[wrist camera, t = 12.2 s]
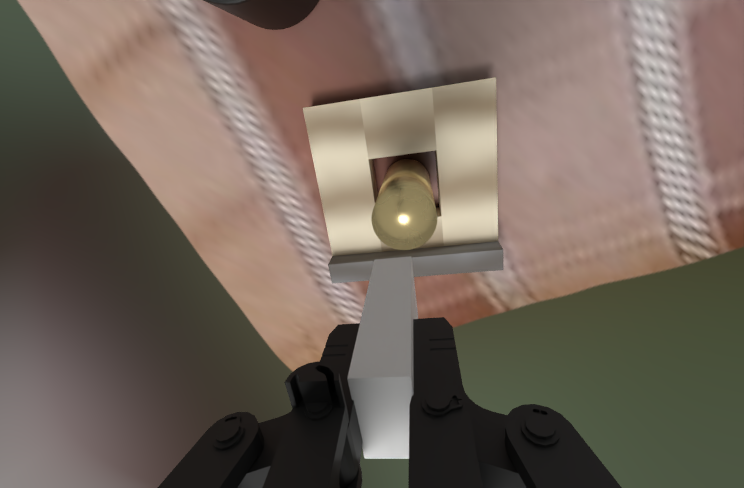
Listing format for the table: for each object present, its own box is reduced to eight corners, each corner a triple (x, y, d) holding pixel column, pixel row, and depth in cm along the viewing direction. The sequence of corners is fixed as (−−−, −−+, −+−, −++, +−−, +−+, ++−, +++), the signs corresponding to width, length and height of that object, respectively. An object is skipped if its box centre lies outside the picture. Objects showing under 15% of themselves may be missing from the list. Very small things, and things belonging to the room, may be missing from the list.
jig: (311, 107, 33) (295, 108, 28) (488, 79, 30) (502, 75, 26) (341, 261, 39) (332, 283, 34) (491, 248, 36) (503, 269, 32)
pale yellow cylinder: (381, 161, 34) (367, 191, 23) (427, 156, 33) (434, 183, 22) (387, 205, 36) (376, 252, 25) (431, 200, 35) (439, 247, 24)
